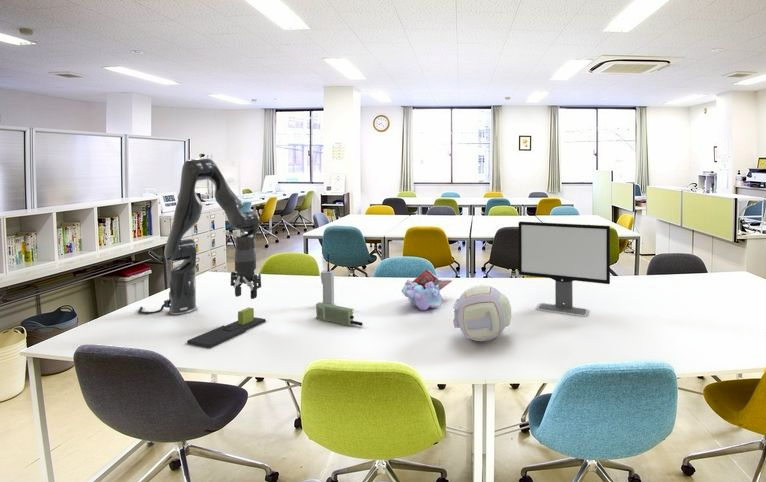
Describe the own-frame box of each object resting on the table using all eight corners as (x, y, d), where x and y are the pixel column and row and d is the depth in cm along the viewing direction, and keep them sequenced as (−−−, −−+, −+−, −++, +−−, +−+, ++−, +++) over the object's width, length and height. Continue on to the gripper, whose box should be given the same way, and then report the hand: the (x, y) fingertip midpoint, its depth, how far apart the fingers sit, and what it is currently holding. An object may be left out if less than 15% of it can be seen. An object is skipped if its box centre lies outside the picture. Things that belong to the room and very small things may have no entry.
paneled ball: (456, 326, 151) (455, 278, 151) (509, 326, 150) (509, 278, 150) (450, 351, 130) (450, 295, 130) (512, 351, 129) (512, 296, 129)
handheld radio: (321, 316, 163) (364, 325, 152) (315, 319, 160) (359, 328, 149) (320, 301, 162) (364, 309, 152) (314, 304, 159) (358, 313, 149)
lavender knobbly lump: (395, 303, 164) (416, 269, 164) (399, 286, 185) (417, 256, 186) (434, 324, 167) (454, 290, 167) (434, 305, 188) (452, 275, 189)
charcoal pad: (187, 343, 137) (187, 340, 137) (223, 328, 151) (223, 325, 151) (210, 348, 134) (210, 344, 134) (245, 331, 147) (245, 329, 147)
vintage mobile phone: (323, 304, 176) (322, 253, 176) (334, 304, 177) (333, 253, 176) (320, 307, 173) (320, 255, 172) (331, 307, 173) (331, 255, 173)
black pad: (218, 331, 148) (218, 315, 148) (247, 318, 160) (247, 304, 160) (237, 334, 145) (236, 318, 145) (265, 321, 157) (265, 306, 157)
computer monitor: (517, 307, 172) (517, 222, 171) (522, 301, 180) (522, 220, 179) (609, 320, 157) (609, 227, 156) (610, 312, 164) (610, 224, 164)
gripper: (224, 259, 152) (224, 298, 152) (250, 262, 148) (250, 302, 148) (241, 255, 159) (241, 292, 160) (266, 258, 155) (266, 296, 155)
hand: (245, 297), depth 154 cm, fingers open, 8 cm apart
